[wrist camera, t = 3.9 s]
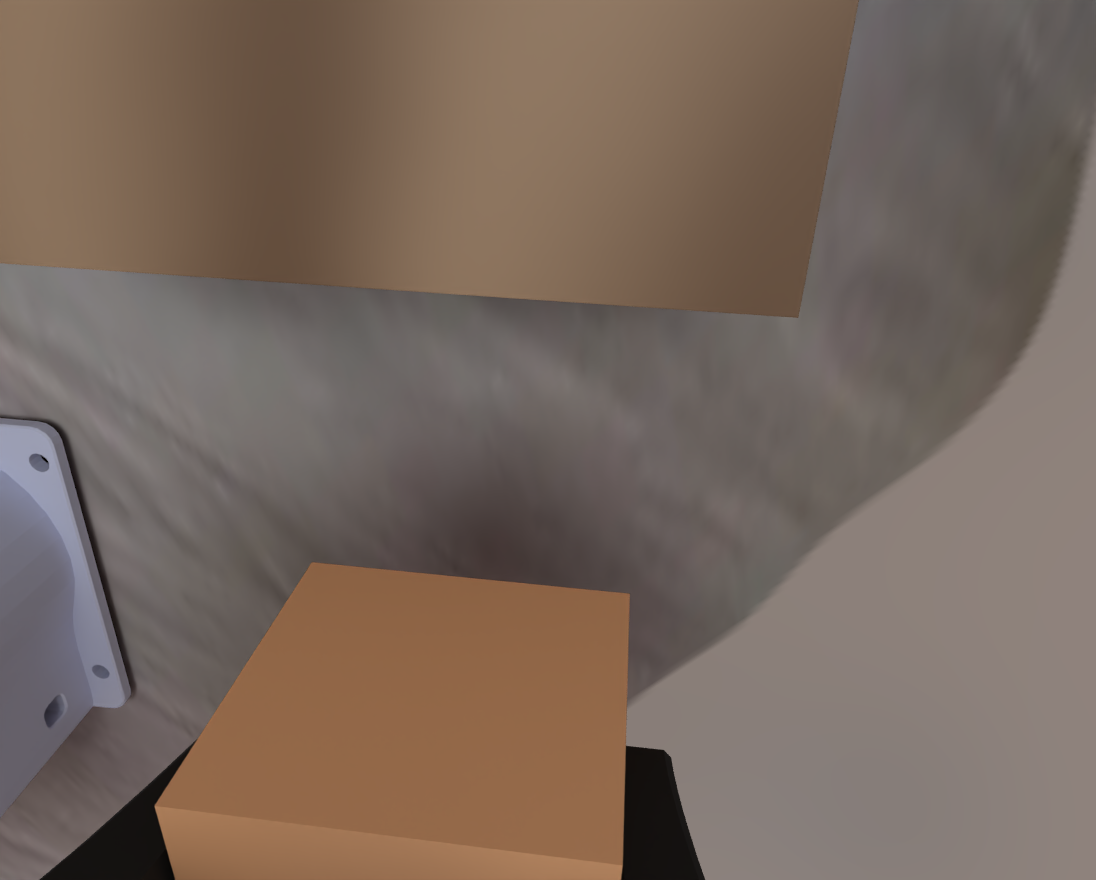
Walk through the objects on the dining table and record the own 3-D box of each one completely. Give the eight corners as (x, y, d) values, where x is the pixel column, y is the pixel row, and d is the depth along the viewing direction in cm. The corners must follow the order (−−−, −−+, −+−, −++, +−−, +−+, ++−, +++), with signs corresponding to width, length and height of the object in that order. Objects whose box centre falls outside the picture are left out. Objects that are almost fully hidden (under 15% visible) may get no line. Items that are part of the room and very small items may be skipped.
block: (606, 814, 13) (591, 1110, 9) (338, 781, 13) (224, 1055, 10) (629, 593, 11) (622, 865, 7) (311, 562, 11) (155, 805, 7)
